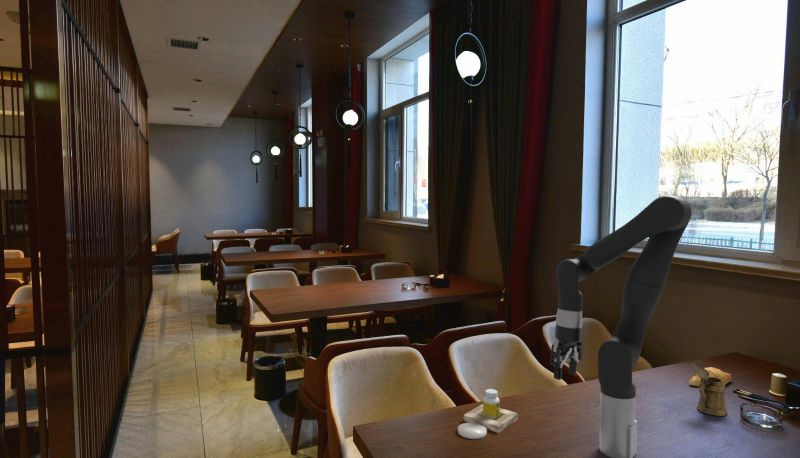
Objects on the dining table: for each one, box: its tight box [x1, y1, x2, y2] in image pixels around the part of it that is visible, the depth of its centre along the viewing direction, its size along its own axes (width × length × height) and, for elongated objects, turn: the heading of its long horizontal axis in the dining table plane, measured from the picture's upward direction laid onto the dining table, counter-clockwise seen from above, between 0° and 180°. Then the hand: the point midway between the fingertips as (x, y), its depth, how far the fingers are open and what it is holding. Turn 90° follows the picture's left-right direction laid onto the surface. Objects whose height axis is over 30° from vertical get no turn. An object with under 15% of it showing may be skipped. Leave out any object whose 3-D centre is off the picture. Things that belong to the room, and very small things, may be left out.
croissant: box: [688, 366, 733, 387], centre depth 194 cm, size 21×10×8 cm, turn 108°
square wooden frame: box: [463, 403, 519, 434], centre depth 160 cm, size 13×13×2 cm
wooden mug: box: [690, 362, 728, 417], centre depth 167 cm, size 9×14×18 cm, turn 110°
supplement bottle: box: [482, 388, 500, 421], centre depth 159 cm, size 5×5×10 cm
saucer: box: [457, 422, 488, 440], centre depth 151 cm, size 9×9×1 cm
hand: (565, 376), depth 147 cm, fingers open, 8 cm apart
